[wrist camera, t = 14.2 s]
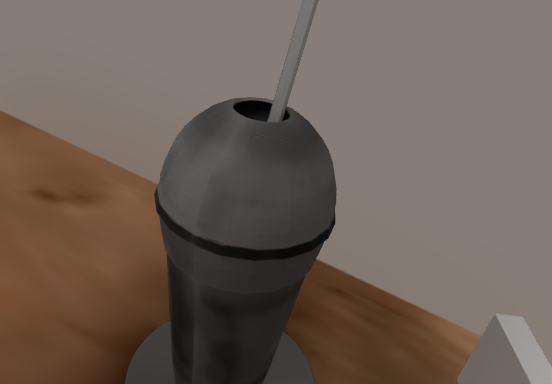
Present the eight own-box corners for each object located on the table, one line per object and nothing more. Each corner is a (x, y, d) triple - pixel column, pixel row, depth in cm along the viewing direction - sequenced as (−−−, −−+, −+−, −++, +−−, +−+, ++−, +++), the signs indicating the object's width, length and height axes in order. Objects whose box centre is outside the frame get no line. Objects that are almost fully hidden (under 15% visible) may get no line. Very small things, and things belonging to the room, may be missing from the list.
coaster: (307, 324, 30) (309, 318, 30) (321, 492, 22) (324, 485, 22) (148, 306, 29) (148, 299, 29) (98, 474, 21) (98, 467, 21)
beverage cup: (133, 342, 26) (139, -62, 16) (254, 314, 30) (325, -37, 19) (166, 470, 21) (209, -10, 11) (309, 419, 24) (451, 12, 14)
